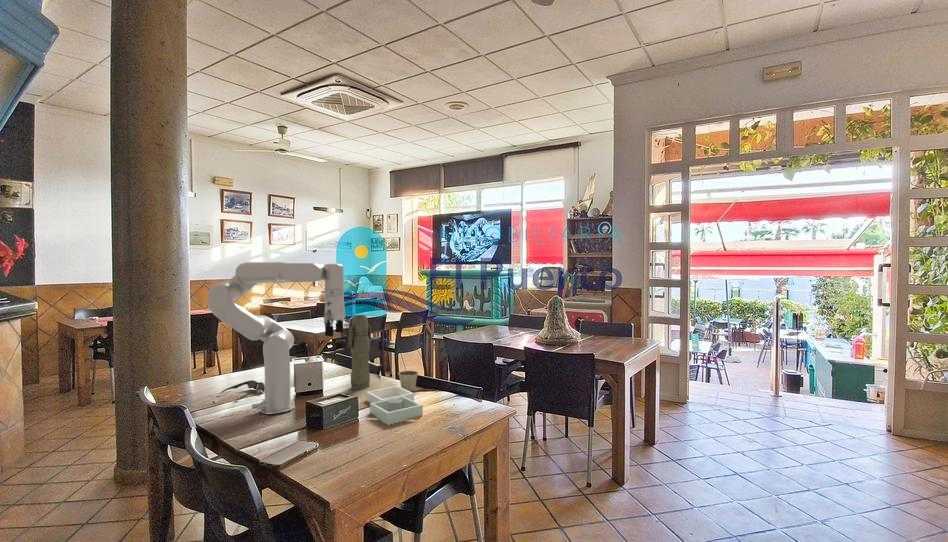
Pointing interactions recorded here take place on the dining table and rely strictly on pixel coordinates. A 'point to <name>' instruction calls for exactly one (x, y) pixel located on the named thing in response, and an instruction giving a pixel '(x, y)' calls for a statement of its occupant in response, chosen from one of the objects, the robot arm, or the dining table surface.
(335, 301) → the robot arm
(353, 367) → the olive green tall block
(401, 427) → the dining table surface
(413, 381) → the flower pot
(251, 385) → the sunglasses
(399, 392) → the bin
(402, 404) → the gray cube
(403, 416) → the bin
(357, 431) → the dining table surface
